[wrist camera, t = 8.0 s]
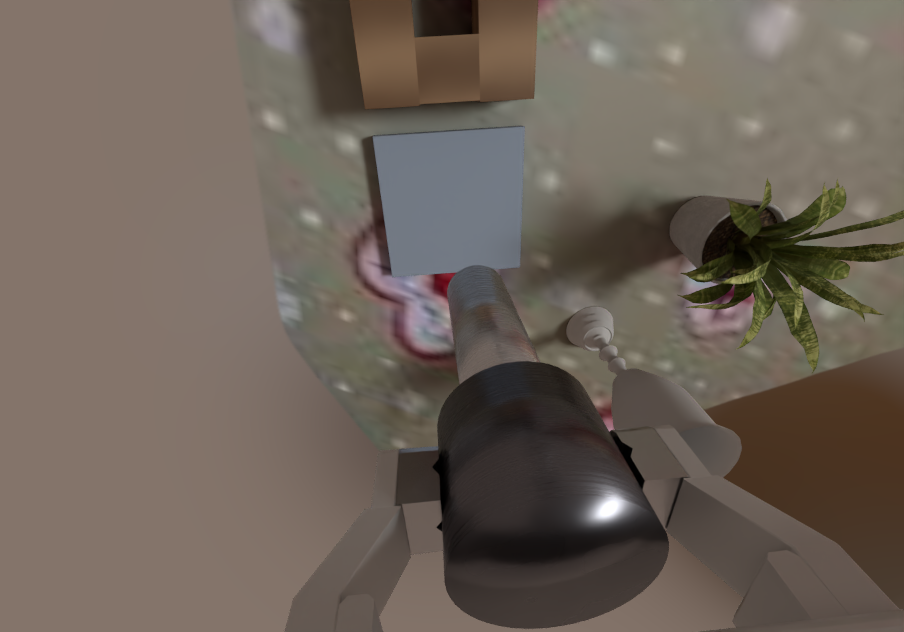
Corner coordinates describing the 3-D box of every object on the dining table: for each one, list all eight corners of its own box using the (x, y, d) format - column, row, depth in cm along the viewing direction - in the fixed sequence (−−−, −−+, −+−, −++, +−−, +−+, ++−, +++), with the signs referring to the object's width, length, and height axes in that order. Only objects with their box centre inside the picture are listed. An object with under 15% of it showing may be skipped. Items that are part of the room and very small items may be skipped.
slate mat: (373, 135, 32) (372, 136, 31) (521, 125, 32) (524, 126, 31) (393, 272, 38) (392, 277, 37) (517, 263, 38) (519, 267, 37)
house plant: (692, 94, 32) (908, 97, 18) (812, 162, 35) (1074, 211, 21) (596, 251, 38) (700, 346, 24) (706, 296, 42) (854, 403, 27)
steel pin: (427, 252, 18) (436, 509, 7) (522, 245, 18) (692, 484, 7) (434, 334, 20) (451, 638, 9) (519, 327, 20) (646, 617, 9)
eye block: (341, -108, 25) (328, -141, 21) (527, -117, 25) (544, -150, 22) (371, 107, 31) (364, 109, 27) (521, 97, 31) (533, 98, 28)
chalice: (590, 285, 40) (698, 410, 24) (636, 316, 42) (763, 448, 26) (543, 338, 43) (614, 480, 27) (589, 364, 45) (679, 510, 29)
